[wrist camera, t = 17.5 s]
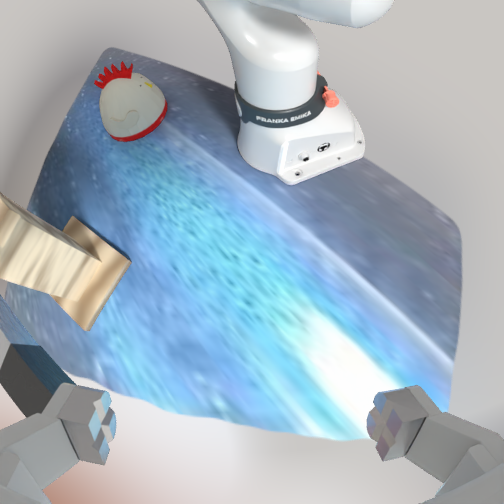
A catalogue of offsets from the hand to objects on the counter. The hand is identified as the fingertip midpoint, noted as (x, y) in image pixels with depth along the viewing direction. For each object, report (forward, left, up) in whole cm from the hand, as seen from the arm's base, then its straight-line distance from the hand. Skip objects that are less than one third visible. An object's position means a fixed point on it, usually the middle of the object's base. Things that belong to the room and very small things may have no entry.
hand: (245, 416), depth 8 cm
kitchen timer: (+17, -51, -36) cm, 64 cm away
